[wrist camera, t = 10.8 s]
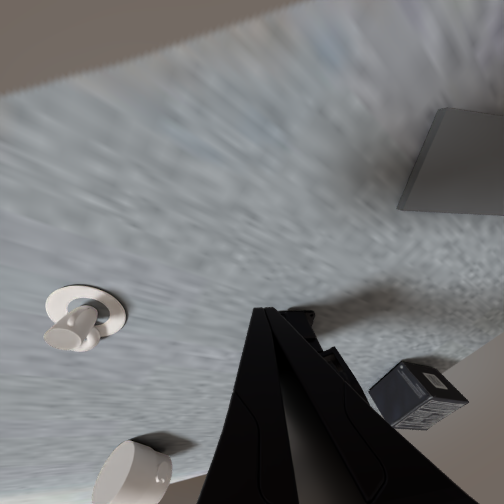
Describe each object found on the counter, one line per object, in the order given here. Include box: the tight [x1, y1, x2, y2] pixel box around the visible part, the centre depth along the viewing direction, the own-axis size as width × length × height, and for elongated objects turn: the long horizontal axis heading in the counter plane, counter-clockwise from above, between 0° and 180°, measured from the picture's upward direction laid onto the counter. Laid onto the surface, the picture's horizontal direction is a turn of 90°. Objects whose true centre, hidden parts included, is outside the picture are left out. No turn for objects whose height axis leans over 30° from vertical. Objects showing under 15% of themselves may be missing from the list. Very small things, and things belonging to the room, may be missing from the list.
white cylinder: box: [92, 440, 172, 504], centre depth 35 cm, size 12×9×8 cm
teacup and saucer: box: [44, 286, 126, 352], centre depth 20 cm, size 9×8×4 cm
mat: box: [397, 108, 504, 216], centre depth 20 cm, size 9×15×1 cm, turn 86°
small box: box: [368, 362, 469, 430], centre depth 36 cm, size 11×6×10 cm
